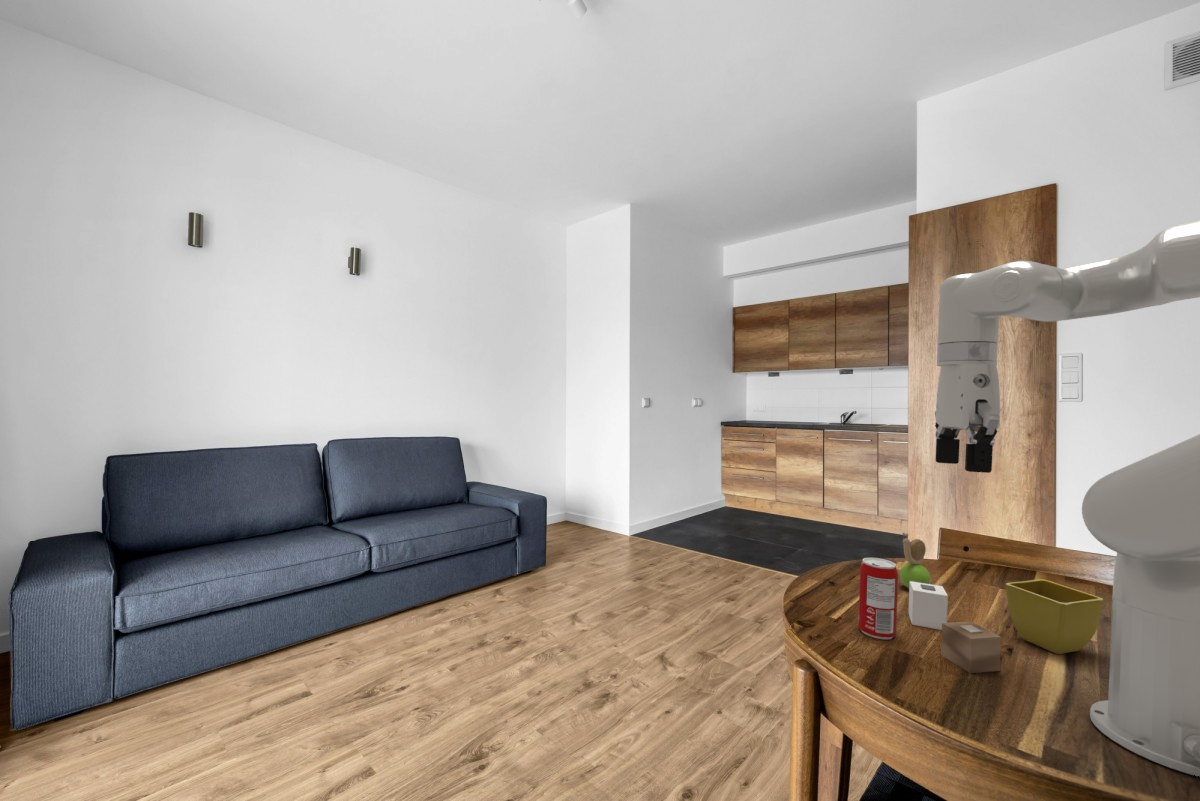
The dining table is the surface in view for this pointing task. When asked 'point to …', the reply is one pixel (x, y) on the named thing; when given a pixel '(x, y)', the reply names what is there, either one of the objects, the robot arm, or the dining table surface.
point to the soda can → (878, 598)
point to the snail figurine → (914, 562)
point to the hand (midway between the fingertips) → (961, 467)
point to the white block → (927, 605)
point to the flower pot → (1053, 614)
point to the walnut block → (971, 647)
